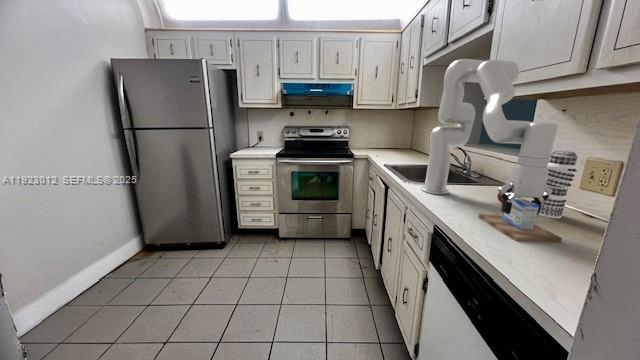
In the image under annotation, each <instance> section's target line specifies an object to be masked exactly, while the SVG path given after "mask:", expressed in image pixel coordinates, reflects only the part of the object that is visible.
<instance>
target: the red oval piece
mask: <svg viewBox="0 0 640 360" xmlns="http://www.w3.org/2000/svg"><path fill="white" fill-rule="evenodd" d="M499 194H500V193H499V192H498V193H497V200H498V202H500V203H501V204H503V200H502V198H501V196H500V195H499ZM505 194H506V192H505ZM510 196H511V195H510ZM510 196H509V197H510Z"/></svg>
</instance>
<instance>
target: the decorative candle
mask: <svg viewBox="0 0 640 360" xmlns="http://www.w3.org/2000/svg"><path fill="white" fill-rule="evenodd" d="M578 158H579V156H578V155H577V154H576V153H575V152H574V151H570V150H569V151H567V150H553V151H552V152H551V156H550V160H551V162H550V163H548V166H547V168H548V180H547V185H546V186H547V187H549V188H550V189H552V190H553V192H552V193H551V194H550V195H549V197H548V198H547V199H546V200H545V202H544V203H542V205H541V208H540V212H539V215H538V216H541V217H544V218H549V219H550V218H551V219H556V218H557V219H561V218H562V216H561V215H563V212H564V210H565V208H564V207H565V206H566V204H565V203H566V202H567V200H566V199H567V193H568V190H570V188H571V186H572V183H570V182H572V181H574V179H573V178H574V177H576V175H575V174H574V172H577V171H578V170H577V169H576V166H577V165H576V163H577V160H578Z"/></svg>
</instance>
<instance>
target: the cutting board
mask: <svg viewBox="0 0 640 360" xmlns="http://www.w3.org/2000/svg"><path fill="white" fill-rule="evenodd" d="M503 215H504V213H503V214H499V213H497V214H496V213H495V214H493V213H478V218H479V220H481V221H482V222H483V221H484V222H485V223H486V224H488V225H489V226H491V227H493V228H494V229H496V230H497V231H499V232H501V233H502V234H504V235H505V236H507V237H508V238H509V239H511V240H513V241H515V242H520V243H521V242H524V243H525V242H527V243H528V242H529V243H541V242H542V243H561V242H562V239H563V237H561V236H559V235H557V234H556V233H553V232H551V231H549V230H547V229H546V228H543V227H541V226H539V225H537V224H535V223H534V226H533V229H531V230H527V229H519V228H517V227H515V226H513V225H511V224H509V223H508V222H506V221H504V220H503Z"/></svg>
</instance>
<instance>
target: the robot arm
mask: <svg viewBox="0 0 640 360" xmlns="http://www.w3.org/2000/svg"><path fill="white" fill-rule="evenodd" d="M519 67H520V66H519V65H518V64H517V63H516V62H514V61H513V60H504V59H488V60H481V59H473V58H472V59H471V58H460V59H457V60H454V61H453V62H451V63H450V64H449V66H448V67H447V68H446V70H445V74H444V78H443V92H442V96H441V100H440V105H439V110H438V114H437V117H438V121H439V122H440V123H442V124H447V126H446V125H442V126H437V127H434V128H433V129H432V130H431V131H430V133H429V155H428V156H429V157H428V161H427V169H426V177H425V180H424V182H425V184H424V185H421V186H420V187H421V189H420V190H421V191H422V192H425V193H428V194H433V195H439V196H440V195H448V194H449V193H450V191H449V189H447V183H448V177H449V172H450V165H451V160H452V159H451V158H452V154H451V151H450V149H449V147H450V148H451V147H453V148H458V147H459V148H460V147H464V146H465V145H466V144H467V143H468V141H469V140H470V136H471V133H472V130H473V129H472V128H473V125H474V122H475V118H476V109H475V107H474V105H473V104H472V103H469V102H463V100H464V97H465V88H464V87H465V86H464V85H463V83H465V82H466V83H478V85H479V86H480V88H481V91H482V93H483V96H484V98H485V100H486V105H485V107H484V109H483V113H482V122H483V125H484V128H485V131H486V133H487V135H488V137H489V139H490V140H491V141H493V142H494V143H498V144H521V145H520V150H519V152H518V158H517V162H516V164H514V165H513V166H512V168H511V170H510V173H509V175H508V178H507V181H506V183H505V184H504V185H502V186H499V187H498V188H497V189H498V193H500V194H499V195H500V196H501V198H502V200H503V204H502V203H501V204H502V205H501V212H503V214H504V213H506V214H510V212H511V208H512V202H511V201H512V200H513V199H515V198H516V197H520V198H524V199H525V198H530V199H531V198H532V199H531V201H530V202H532V203H535V204H537V205H539V208H538V212H537V215H536V216H540V215H539V212H540V208H541V205H542V203H544V202H545V200H546V199H547V198H548V197H549V195H550V194H551V193H552V192H553V190H552V189H550V188H549V187H547V186H546V185H547V180H548V168H547V166H548V163H550V162H551V160H550V156H551V153H553V149H554V148H553V147H554V144H555V141H556V137H557V133H558V130H559V129H558V128H559V127H558V124H556V123H554V122H542V121H541V122H540V121H539V122H537V121H536V122H535V121H529V120H511V119H510V120H509V119H507V118H506V116H505V114H504V111H503V107H502V105H504V104H506V103H508V102H509V101H511V100H512V99H513V98H514V97H515V95H516V89H515V88H514V85H513V83H515V82H516V80H517V79H518V78H519V74H520V68H519ZM449 124H451V125H454V126H450V125H449ZM448 125H449V126H448ZM505 192H506V194H505ZM510 195H511V196H510ZM509 196H510V197H509Z"/></svg>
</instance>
